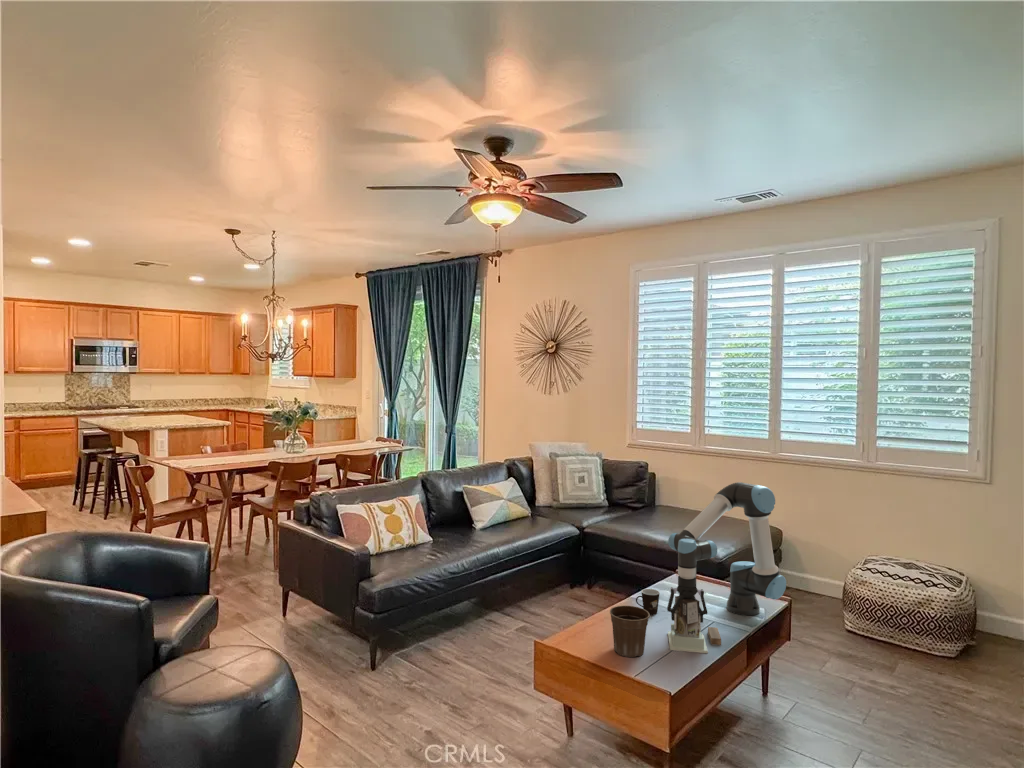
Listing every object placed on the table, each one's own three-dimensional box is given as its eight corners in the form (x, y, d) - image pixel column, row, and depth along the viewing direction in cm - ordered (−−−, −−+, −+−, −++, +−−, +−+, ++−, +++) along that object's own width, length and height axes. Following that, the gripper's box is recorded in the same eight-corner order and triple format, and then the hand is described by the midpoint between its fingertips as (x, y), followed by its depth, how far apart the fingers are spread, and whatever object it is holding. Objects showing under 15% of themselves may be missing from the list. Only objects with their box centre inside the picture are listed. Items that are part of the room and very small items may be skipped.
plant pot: (649, 645, 257) (649, 606, 257) (649, 662, 241) (649, 621, 241) (610, 641, 260) (610, 603, 260) (608, 657, 245) (608, 617, 245)
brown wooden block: (717, 634, 268) (717, 627, 268) (721, 645, 257) (721, 638, 257) (708, 633, 269) (708, 626, 269) (711, 645, 257) (711, 638, 257)
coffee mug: (658, 609, 297) (658, 589, 297) (660, 616, 288) (660, 595, 288) (634, 608, 298) (634, 588, 298) (636, 615, 289) (636, 594, 289)
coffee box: (700, 639, 255) (700, 601, 255) (687, 641, 253) (687, 602, 253) (687, 631, 264) (687, 593, 264) (674, 633, 262) (674, 595, 262)
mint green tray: (703, 636, 265) (703, 624, 265) (707, 653, 249) (707, 641, 249) (667, 633, 268) (667, 622, 268) (670, 650, 252) (670, 638, 252)
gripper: (712, 575, 260) (712, 627, 260) (660, 571, 264) (660, 623, 265) (715, 580, 253) (715, 634, 253) (661, 577, 257) (661, 630, 257)
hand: (687, 628), depth 259 cm, fingers closed on coffee box, 9 cm apart
